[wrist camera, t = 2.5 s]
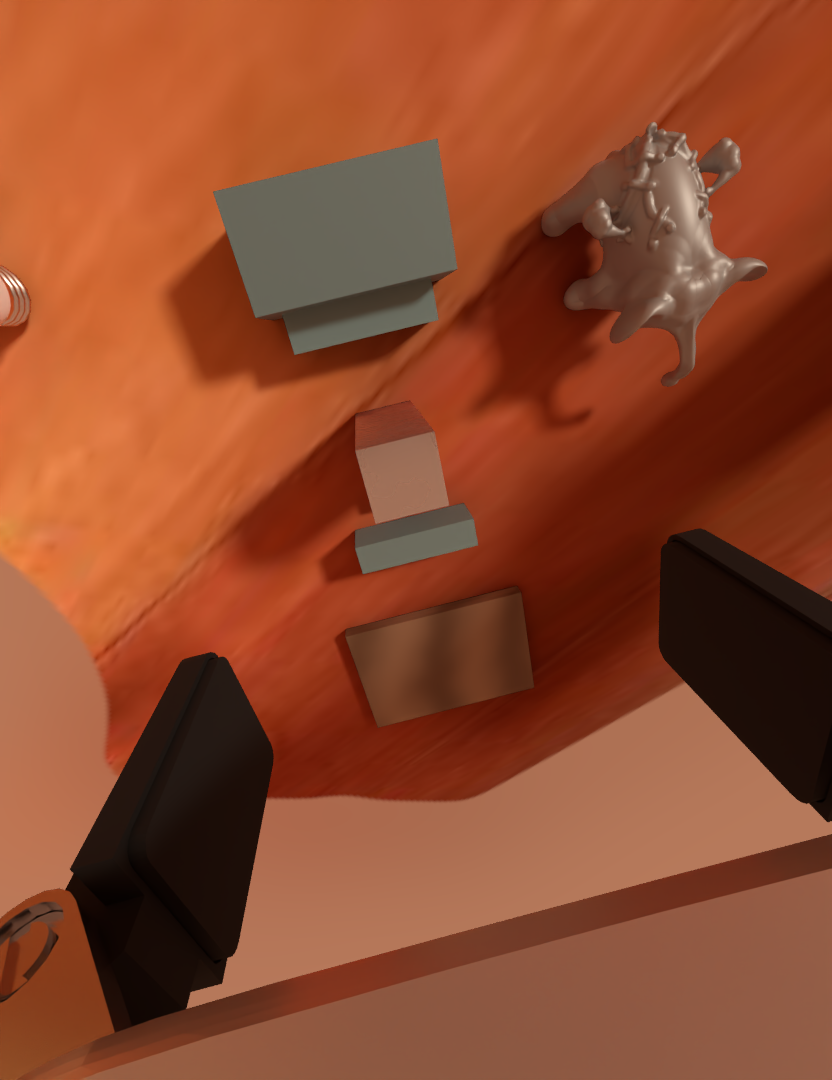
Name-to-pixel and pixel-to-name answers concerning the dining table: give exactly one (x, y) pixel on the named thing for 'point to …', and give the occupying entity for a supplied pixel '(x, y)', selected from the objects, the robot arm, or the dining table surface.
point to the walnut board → (443, 656)
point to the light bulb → (13, 299)
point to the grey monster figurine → (653, 238)
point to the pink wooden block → (399, 462)
